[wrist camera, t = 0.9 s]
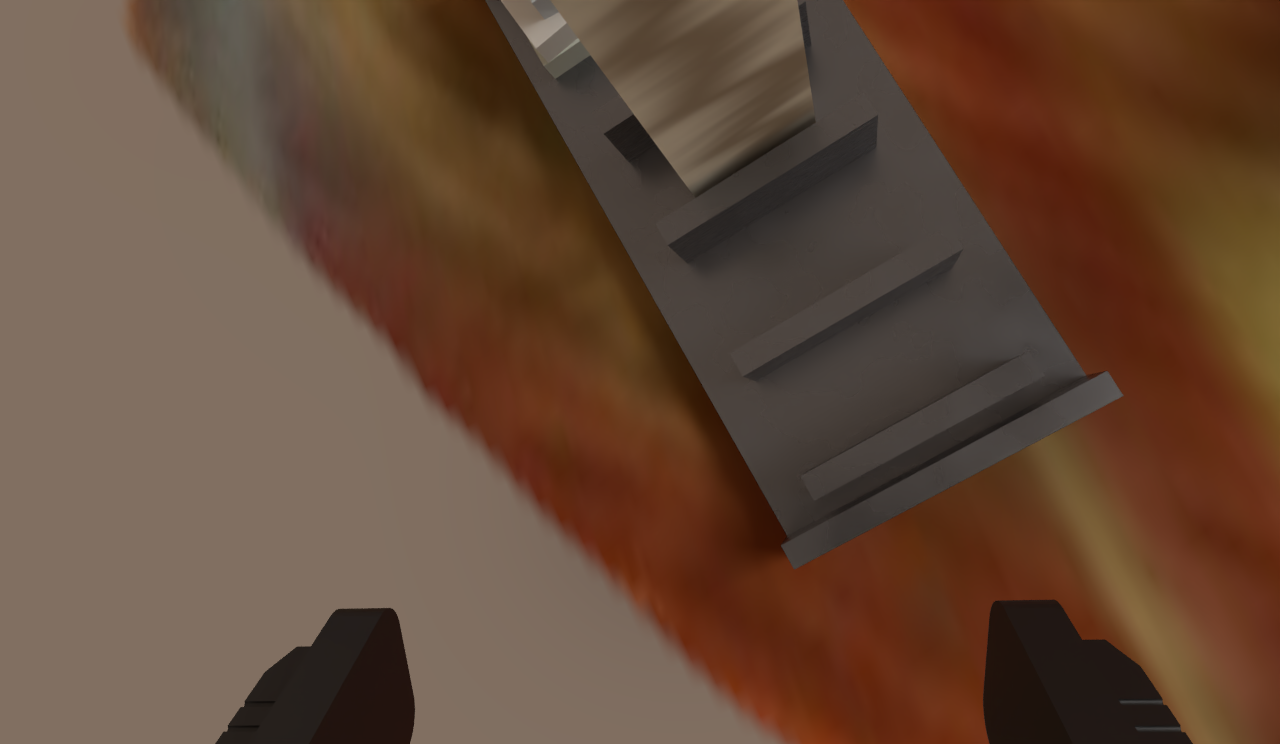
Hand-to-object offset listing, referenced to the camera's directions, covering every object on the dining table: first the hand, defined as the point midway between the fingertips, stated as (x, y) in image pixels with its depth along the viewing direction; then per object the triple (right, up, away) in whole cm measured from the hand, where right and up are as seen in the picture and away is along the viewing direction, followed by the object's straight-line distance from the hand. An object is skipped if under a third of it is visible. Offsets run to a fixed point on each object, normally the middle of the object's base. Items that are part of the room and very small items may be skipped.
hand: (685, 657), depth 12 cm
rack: (+4, +13, +27) cm, 30 cm away
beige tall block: (+4, +13, +26) cm, 29 cm away
